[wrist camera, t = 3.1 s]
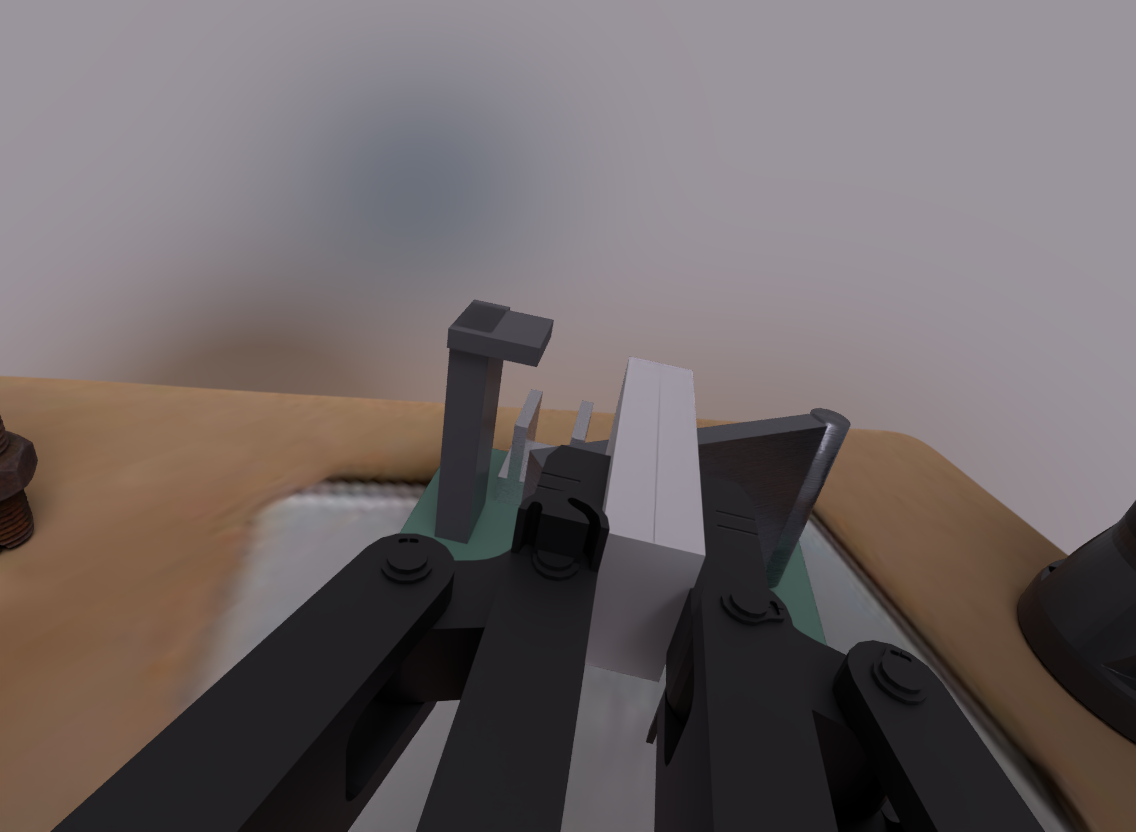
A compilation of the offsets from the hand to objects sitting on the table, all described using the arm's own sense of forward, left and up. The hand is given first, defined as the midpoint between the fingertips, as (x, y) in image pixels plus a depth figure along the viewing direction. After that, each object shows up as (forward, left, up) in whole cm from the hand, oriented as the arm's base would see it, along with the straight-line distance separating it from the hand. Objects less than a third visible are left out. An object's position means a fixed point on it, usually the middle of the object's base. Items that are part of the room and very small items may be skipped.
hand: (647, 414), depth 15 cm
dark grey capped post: (+7, -16, -19) cm, 26 cm away
